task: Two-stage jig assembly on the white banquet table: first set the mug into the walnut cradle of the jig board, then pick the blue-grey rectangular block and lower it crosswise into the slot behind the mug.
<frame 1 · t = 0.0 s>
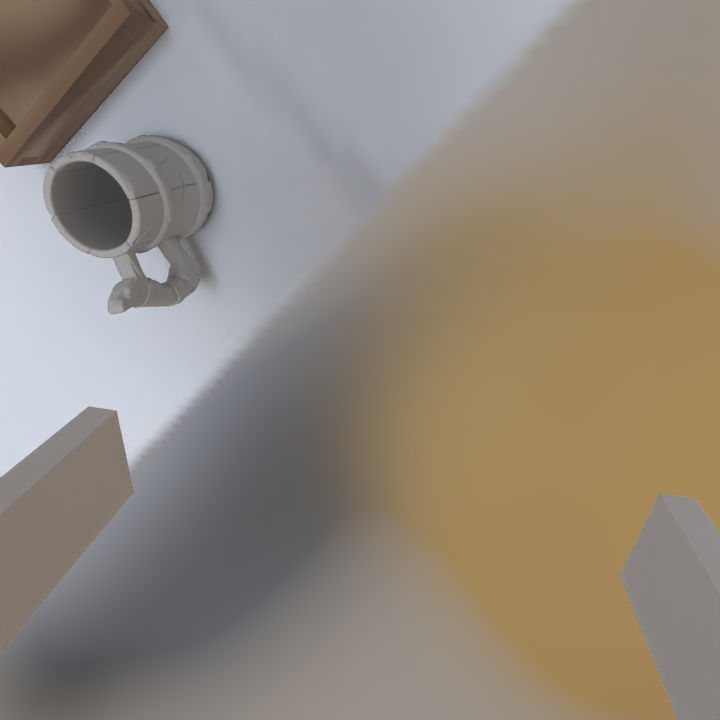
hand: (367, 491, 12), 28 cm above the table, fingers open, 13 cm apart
mug: (183, 213, 38), on the table
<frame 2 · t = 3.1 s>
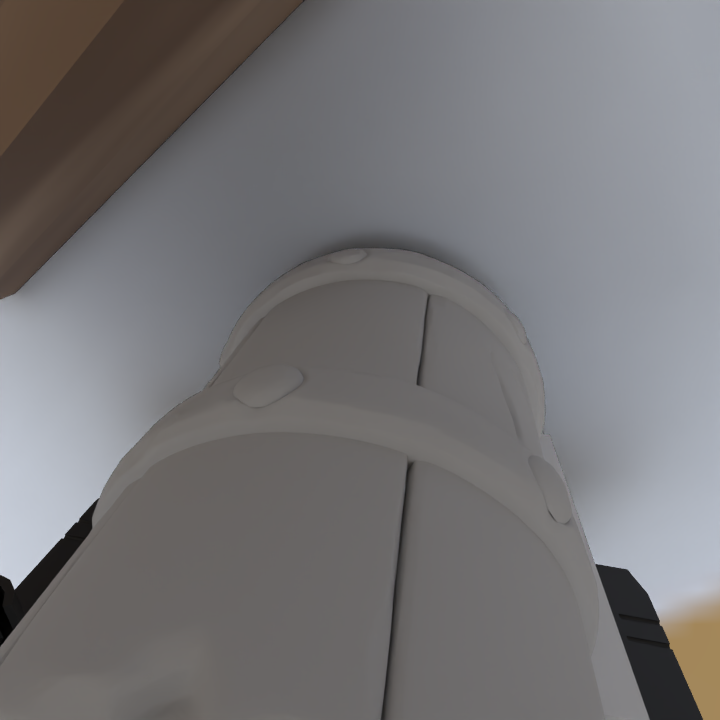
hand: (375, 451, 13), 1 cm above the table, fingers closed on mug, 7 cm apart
mug: (400, 432, 14), on the table, touching gripper
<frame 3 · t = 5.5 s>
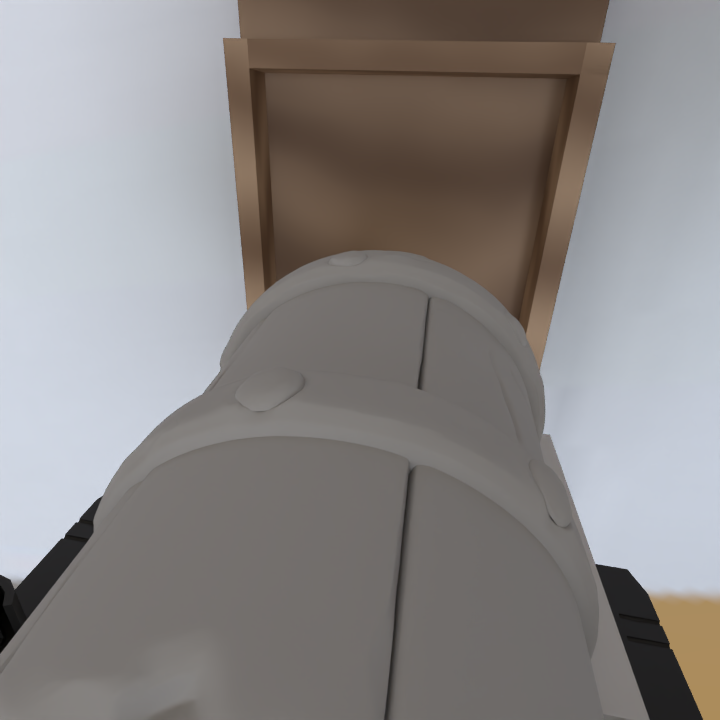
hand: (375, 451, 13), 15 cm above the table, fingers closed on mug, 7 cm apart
mug: (400, 433, 14), point 14 cm above the table, touching gripper
jig: (406, 150, 23), on the table
when the fingers open (5 cm above the table, at t = 8.1 s): mug drops 2 cm, resting on jig.
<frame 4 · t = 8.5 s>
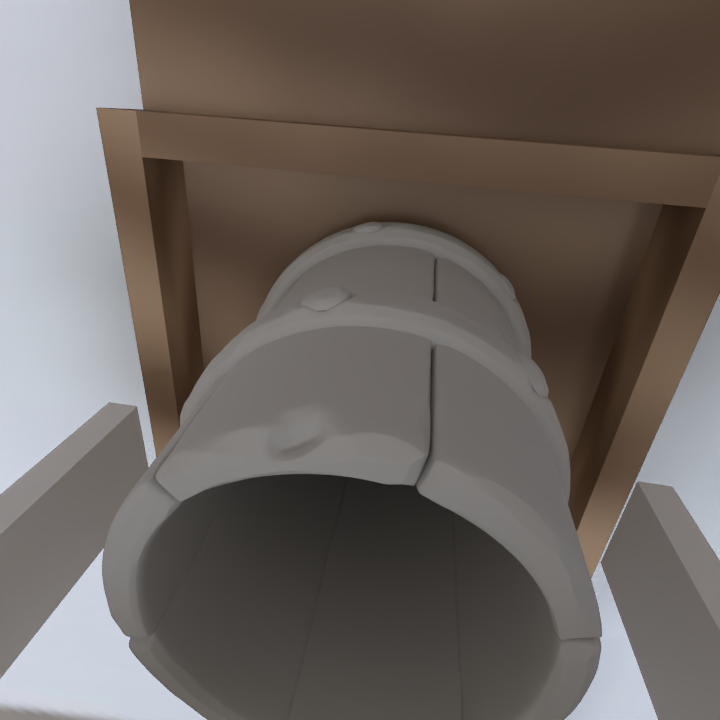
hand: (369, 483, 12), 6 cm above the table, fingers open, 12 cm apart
mug: (406, 391, 16), point 1 cm above the table, touching jig
jig: (402, 266, 15), on the table
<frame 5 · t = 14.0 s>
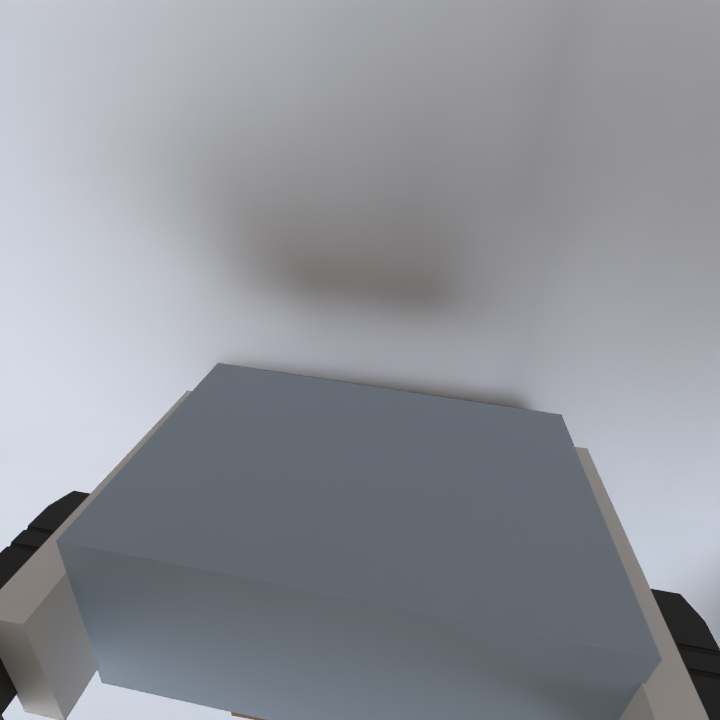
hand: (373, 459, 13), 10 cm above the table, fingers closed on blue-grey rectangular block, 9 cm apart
blue-grey rectangular block: (375, 448, 13), point 9 cm above the table, touching gripper
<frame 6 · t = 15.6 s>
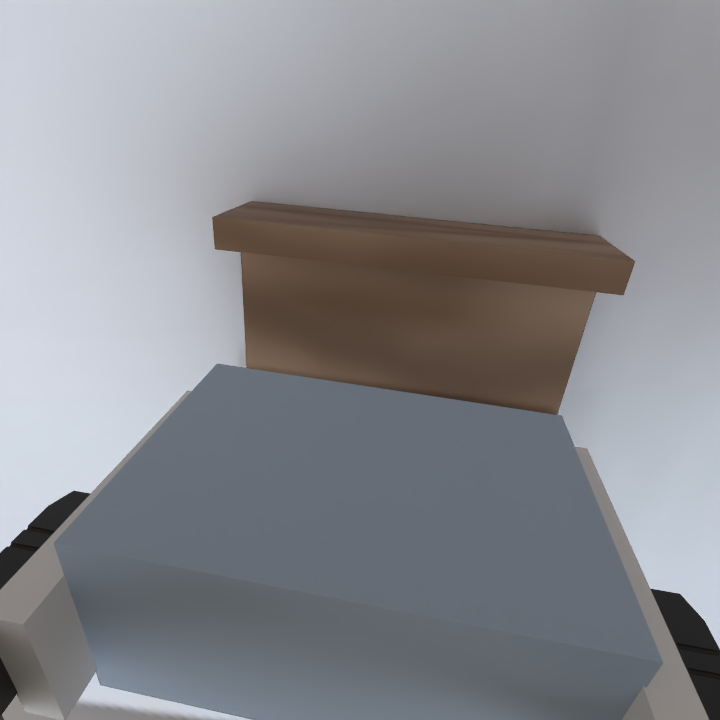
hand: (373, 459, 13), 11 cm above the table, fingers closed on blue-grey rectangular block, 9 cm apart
blue-grey rectangular block: (375, 449, 13), point 10 cm above the table, touching gripper
jig: (390, 441, 26), on the table
when the fingers open (3 cm above the table, at t = 17.4 s): blue-grey rectangular block drops 1 cm, resting on jig.
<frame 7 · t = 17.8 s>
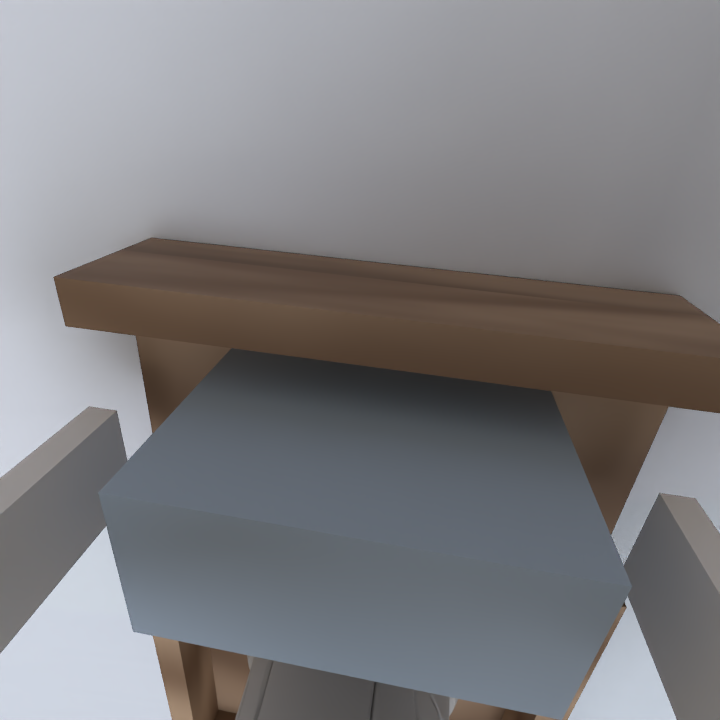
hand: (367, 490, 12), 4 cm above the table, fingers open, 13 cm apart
mug: (372, 648, 19), point 1 cm above the table, touching jig
blue-grey rectangular block: (379, 426, 14), point 1 cm above the table, touching jig
jig: (368, 556, 19), on the table
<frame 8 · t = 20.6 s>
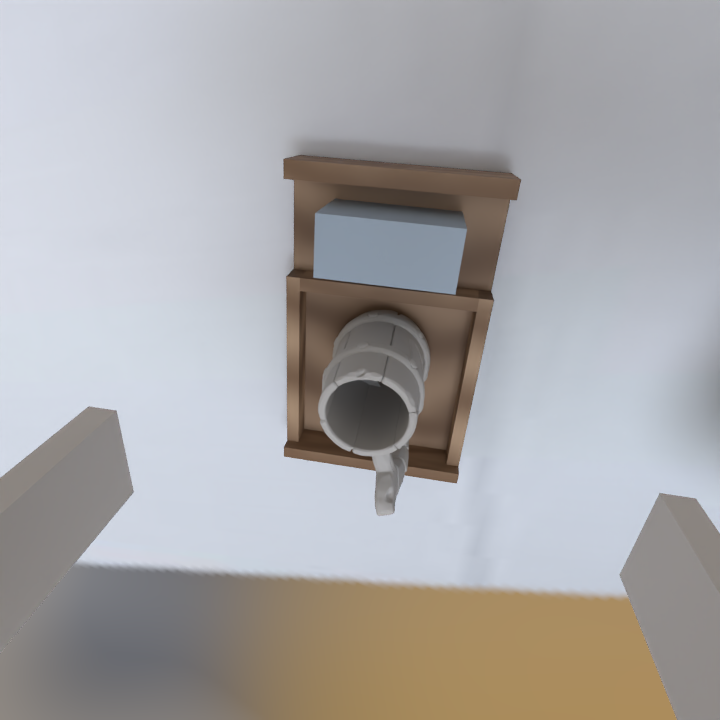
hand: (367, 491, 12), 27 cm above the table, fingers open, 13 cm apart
mug: (389, 370, 39), point 1 cm above the table, touching jig
blue-grey rectangular block: (394, 233, 33), point 1 cm above the table, touching jig
jig: (387, 321, 38), on the table
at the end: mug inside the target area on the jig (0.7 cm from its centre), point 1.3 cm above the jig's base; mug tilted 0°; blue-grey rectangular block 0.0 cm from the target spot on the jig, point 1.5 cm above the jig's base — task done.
